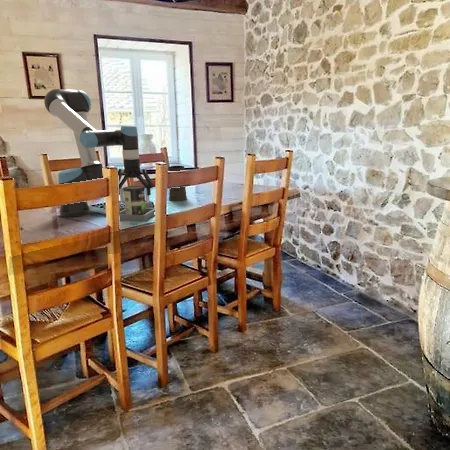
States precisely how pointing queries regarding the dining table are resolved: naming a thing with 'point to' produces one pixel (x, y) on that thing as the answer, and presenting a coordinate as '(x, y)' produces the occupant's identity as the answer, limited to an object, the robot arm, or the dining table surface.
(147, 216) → the holder tray
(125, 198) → the coffee can
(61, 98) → the robot arm
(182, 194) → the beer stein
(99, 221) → the dining table surface
